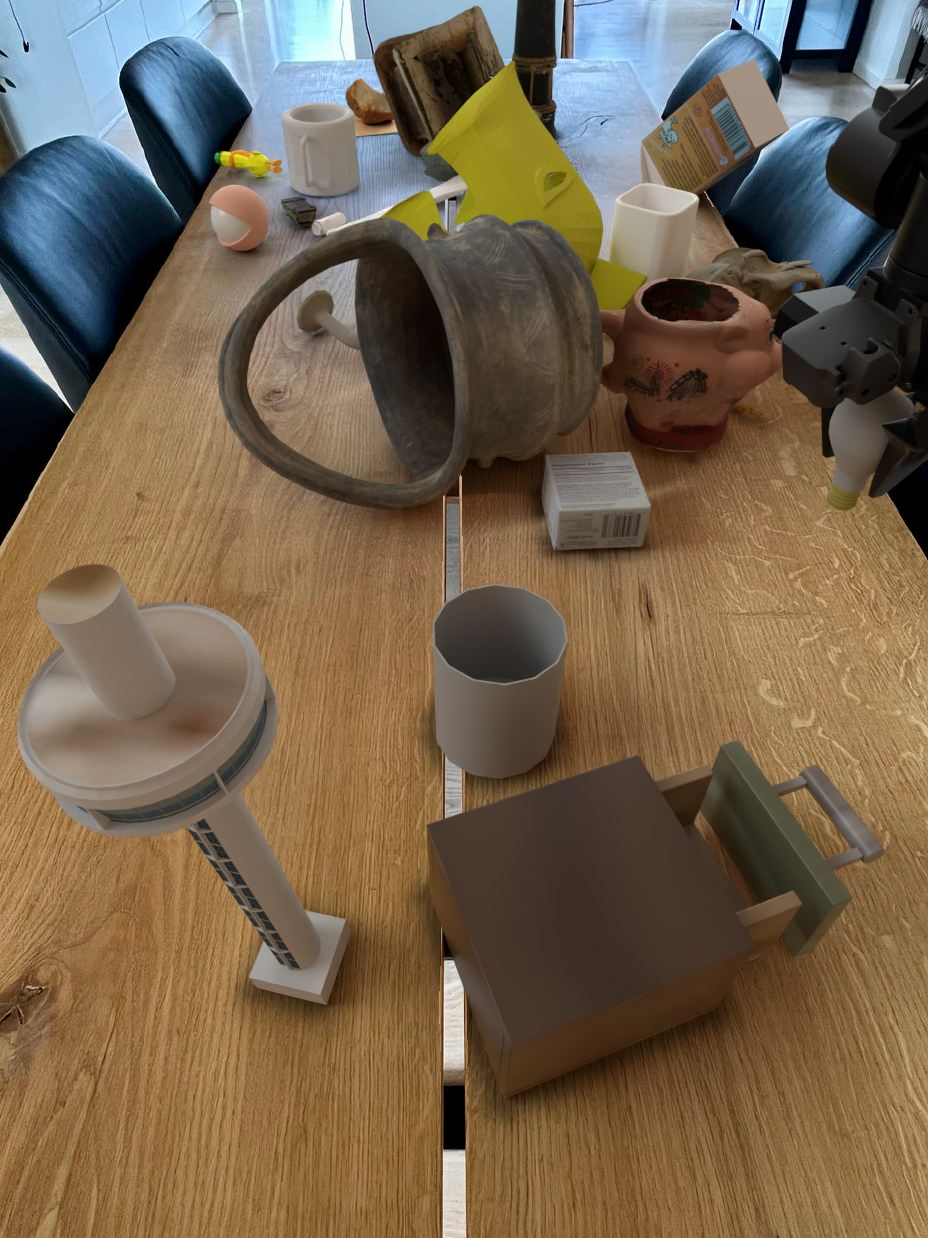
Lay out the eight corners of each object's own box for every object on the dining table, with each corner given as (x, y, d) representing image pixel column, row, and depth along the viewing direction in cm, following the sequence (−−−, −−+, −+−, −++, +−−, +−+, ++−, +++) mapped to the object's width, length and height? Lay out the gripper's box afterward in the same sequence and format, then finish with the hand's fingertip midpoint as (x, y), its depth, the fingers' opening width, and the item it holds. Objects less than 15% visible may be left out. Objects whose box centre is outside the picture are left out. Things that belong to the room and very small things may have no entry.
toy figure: (293, 175, 133) (237, 165, 138) (291, 150, 131) (234, 141, 136) (265, 182, 129) (208, 172, 133) (262, 156, 127) (204, 146, 131)
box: (644, 549, 71) (624, 490, 77) (652, 506, 68) (631, 449, 74) (552, 553, 71) (539, 493, 77) (556, 510, 68) (543, 452, 74)
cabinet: (617, 831, 53) (638, 754, 47) (716, 1009, 46) (757, 946, 39) (430, 897, 50) (425, 824, 44) (504, 1100, 43) (511, 1047, 36)
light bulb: (785, 496, 64) (827, 379, 57) (842, 479, 65) (889, 363, 58) (833, 539, 61) (884, 420, 53) (892, 520, 62) (949, 402, 55)
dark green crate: (277, 198, 121) (280, 216, 122) (292, 210, 115) (295, 229, 117) (302, 194, 122) (304, 213, 124) (318, 206, 116) (321, 225, 118)
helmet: (521, 106, 97) (660, 317, 94) (356, 225, 100) (485, 432, 98) (505, 7, 81) (670, 257, 79) (310, 152, 85) (462, 396, 82)
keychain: (766, 418, 85) (767, 409, 84) (760, 423, 84) (761, 414, 83) (701, 393, 89) (702, 384, 88) (695, 397, 89) (696, 389, 88)
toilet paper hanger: (344, 379, 93) (346, 339, 89) (296, 339, 96) (296, 298, 92) (496, 306, 106) (504, 268, 101) (450, 273, 108) (456, 234, 104)
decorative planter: (558, 462, 80) (572, 325, 70) (554, 393, 88) (567, 262, 78) (768, 469, 79) (814, 331, 69) (745, 399, 88) (782, 267, 77)
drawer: (776, 777, 55) (808, 715, 50) (883, 921, 48) (931, 866, 43) (549, 857, 51) (559, 798, 46) (631, 1027, 44) (653, 979, 39)
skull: (842, 222, 86) (751, 212, 94) (719, 293, 81) (634, 276, 89) (837, 328, 93) (753, 310, 102) (724, 400, 88) (645, 374, 96)
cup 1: (489, 801, 55) (494, 708, 47) (411, 723, 59) (404, 627, 52) (578, 731, 58) (595, 635, 51) (498, 663, 63) (503, 566, 55)
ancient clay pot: (621, 205, 62) (225, 281, 51) (612, 489, 75) (297, 594, 65) (478, 179, 78) (156, 232, 68) (492, 415, 92) (225, 490, 81)
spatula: (320, 230, 114) (325, 248, 116) (339, 230, 112) (344, 249, 113) (458, 170, 128) (462, 187, 129) (478, 169, 125) (481, 186, 127)
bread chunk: (416, 130, 147) (381, 72, 139) (365, 170, 150) (328, 115, 142) (400, 104, 157) (367, 48, 149) (352, 142, 159) (317, 89, 152)
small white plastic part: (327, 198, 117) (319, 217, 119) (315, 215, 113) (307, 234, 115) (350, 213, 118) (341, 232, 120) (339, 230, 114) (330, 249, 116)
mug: (303, 170, 133) (294, 98, 126) (368, 175, 132) (363, 103, 125) (274, 201, 124) (262, 126, 117) (343, 207, 123) (336, 132, 116)
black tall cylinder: (550, 125, 150) (566, -93, 128) (560, 141, 144) (579, -85, 122) (501, 126, 149) (508, -93, 128) (509, 143, 143) (518, -84, 121)
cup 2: (678, 328, 98) (705, 195, 87) (649, 354, 94) (673, 217, 83) (623, 311, 101) (642, 180, 90) (593, 335, 97) (609, 200, 86)
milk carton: (789, 128, 118) (687, 205, 134) (754, 57, 116) (654, 143, 131) (755, 147, 112) (652, 225, 128) (717, 73, 110) (618, 161, 126)
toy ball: (203, 247, 114) (190, 185, 108) (251, 231, 117) (240, 170, 112) (236, 265, 110) (224, 202, 104) (284, 248, 113) (275, 187, 108)
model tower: (207, 1018, 46) (-129, 681, 23) (266, 876, 51) (39, 492, 29) (349, 1055, 44) (132, 727, 21) (396, 903, 49) (260, 515, 27)
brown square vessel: (367, 110, 125) (331, 141, 143) (499, 185, 137) (451, 205, 154) (413, -41, 122) (371, 9, 140) (544, 49, 134) (490, 85, 151)
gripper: (736, 221, 54) (688, 429, 65) (946, 359, 41) (842, 585, 53) (877, 199, 56) (807, 402, 68) (1113, 322, 44) (980, 545, 56)
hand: (851, 475), depth 61 cm, fingers closed on light bulb, 5 cm apart
